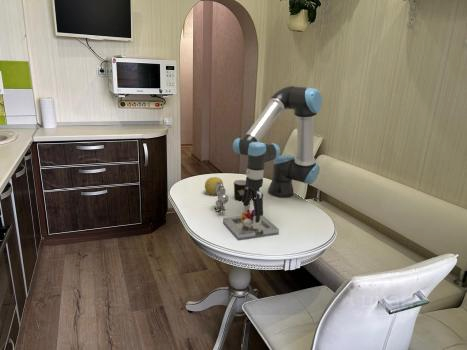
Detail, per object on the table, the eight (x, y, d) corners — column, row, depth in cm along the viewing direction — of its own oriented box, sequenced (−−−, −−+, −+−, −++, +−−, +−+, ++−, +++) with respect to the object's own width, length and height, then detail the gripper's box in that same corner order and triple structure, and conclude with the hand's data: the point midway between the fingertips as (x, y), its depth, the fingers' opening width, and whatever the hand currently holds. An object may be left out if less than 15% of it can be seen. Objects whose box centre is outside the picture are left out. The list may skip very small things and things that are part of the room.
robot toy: (229, 217, 173) (231, 188, 169) (217, 217, 172) (219, 188, 167) (223, 205, 187) (225, 178, 183) (212, 205, 186) (213, 179, 181)
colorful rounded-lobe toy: (239, 219, 166) (240, 205, 164) (259, 220, 167) (261, 206, 165) (241, 228, 158) (242, 213, 156) (262, 228, 159) (264, 213, 157)
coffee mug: (230, 200, 195) (231, 183, 192) (236, 195, 203) (237, 179, 200) (249, 204, 191) (251, 187, 188) (255, 199, 199) (256, 182, 196)
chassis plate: (260, 218, 175) (260, 213, 174) (278, 234, 159) (279, 229, 158) (222, 222, 167) (223, 217, 166) (238, 240, 151) (238, 235, 150)
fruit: (225, 193, 205) (226, 176, 202) (215, 198, 197) (216, 181, 194) (211, 189, 210) (212, 173, 207) (200, 193, 202) (201, 177, 199)
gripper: (236, 170, 164) (233, 214, 170) (258, 186, 144) (254, 235, 151) (251, 169, 167) (247, 212, 173) (274, 184, 147) (269, 232, 154)
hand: (250, 223), depth 162 cm, fingers closed on colorful rounded-lobe toy, 10 cm apart
